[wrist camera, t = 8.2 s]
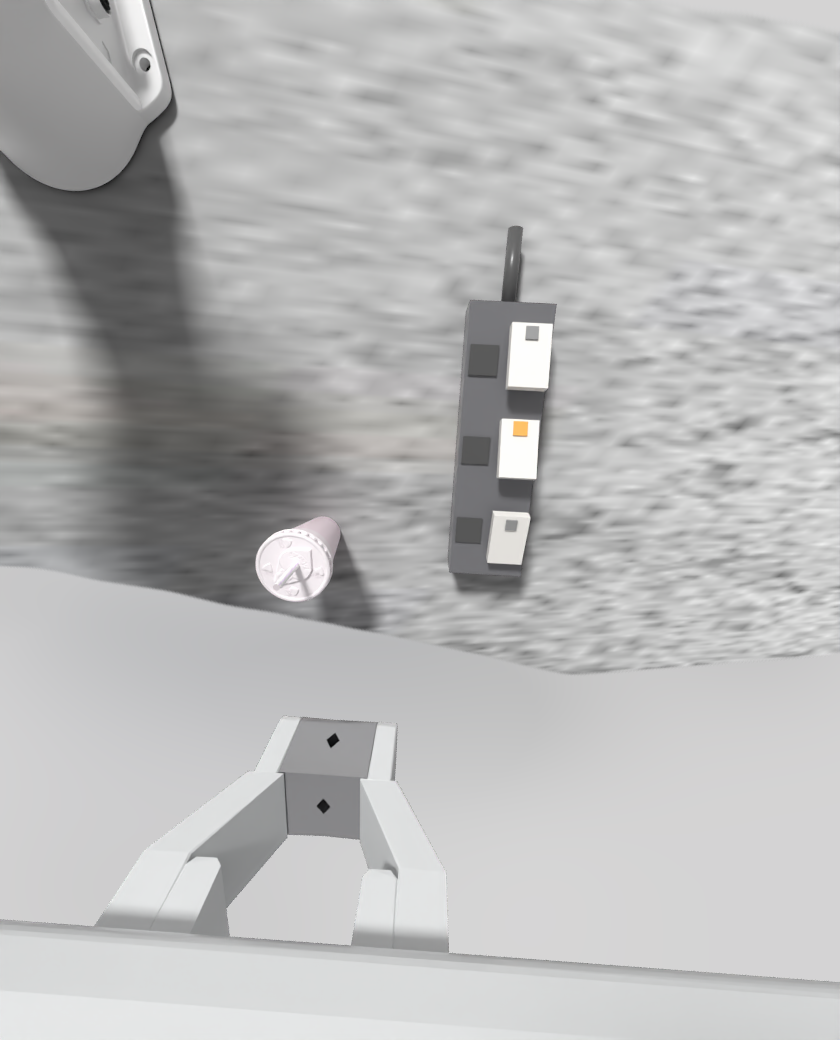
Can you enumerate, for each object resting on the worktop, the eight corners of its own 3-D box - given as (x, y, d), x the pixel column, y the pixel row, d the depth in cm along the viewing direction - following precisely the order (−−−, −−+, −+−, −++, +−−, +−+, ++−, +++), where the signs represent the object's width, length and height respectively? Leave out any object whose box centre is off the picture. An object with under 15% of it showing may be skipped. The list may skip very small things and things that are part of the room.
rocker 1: (509, 327, 32) (512, 321, 30) (548, 329, 32) (553, 322, 30) (505, 389, 32) (508, 385, 31) (544, 391, 32) (548, 387, 31)
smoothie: (365, 533, 41) (333, 593, 28) (326, 571, 43) (277, 646, 29) (320, 491, 40) (265, 533, 27) (281, 532, 42) (210, 591, 28)
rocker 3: (492, 510, 35) (494, 516, 34) (528, 512, 35) (531, 518, 34) (485, 556, 37) (487, 563, 36) (519, 558, 37) (521, 565, 36)
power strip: (471, 235, 33) (476, 211, 29) (552, 238, 33) (569, 215, 29) (447, 557, 42) (449, 573, 38) (512, 561, 42) (521, 577, 38)
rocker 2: (499, 421, 34) (502, 417, 33) (536, 423, 34) (540, 419, 33) (496, 478, 34) (499, 476, 33) (533, 480, 34) (536, 478, 33)
